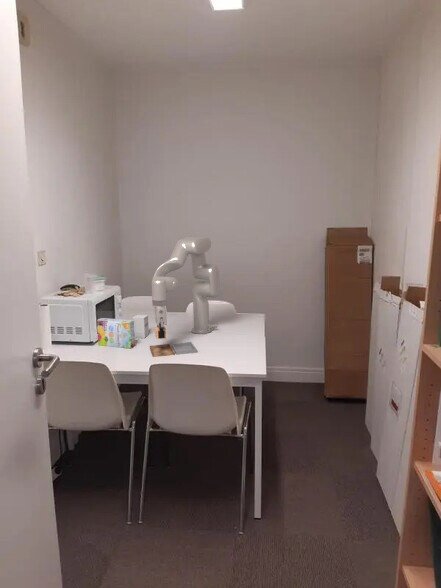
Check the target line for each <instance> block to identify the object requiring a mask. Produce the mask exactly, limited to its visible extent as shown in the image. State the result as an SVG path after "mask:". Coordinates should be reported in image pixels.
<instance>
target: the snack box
mask: <svg viewBox="0 0 441 588" xmlns="http://www.w3.org/2000/svg"><path fill="white" fill-rule="evenodd" d="M96 328H97V329H96V331H97V345H98V346H102V347H111V348H122V349H132V348H134V347H136V338H135V332H134V320H133V319H119V318H109V317H108V318H107V317H100V318H98V319H97V320H96Z"/></svg>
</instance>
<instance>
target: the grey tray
mask: <svg viewBox="0 0 441 588" xmlns="http://www.w3.org/2000/svg"><path fill="white" fill-rule="evenodd" d="M171 347H172V349H173V351H174V355H175V356H176V355H179V356H180V355H188V354H197V353H198V351H197V348H196V346H195V345H194V344H193V342H192V341H187V342H186V341H185V342H175V343H171Z"/></svg>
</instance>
